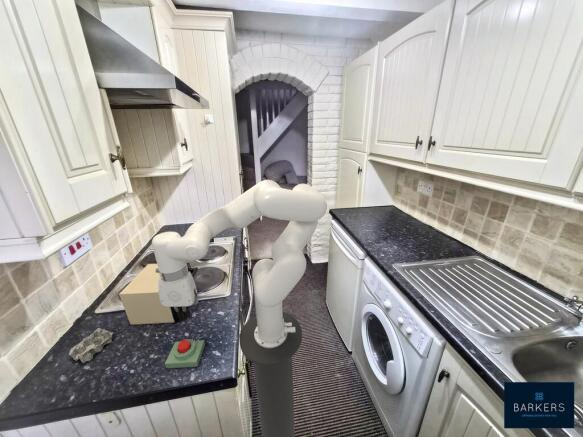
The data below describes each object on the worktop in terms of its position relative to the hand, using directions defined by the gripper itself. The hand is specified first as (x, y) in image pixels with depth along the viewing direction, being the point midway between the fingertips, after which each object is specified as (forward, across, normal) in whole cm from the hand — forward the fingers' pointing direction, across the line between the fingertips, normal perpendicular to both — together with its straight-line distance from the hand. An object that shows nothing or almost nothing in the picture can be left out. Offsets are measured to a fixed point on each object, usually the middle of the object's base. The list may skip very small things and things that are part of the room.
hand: (184, 317), depth 76 cm
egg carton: (+13, -34, 0) cm, 37 cm away
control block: (+13, 0, -4) cm, 13 cm away
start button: (+9, 0, -4) cm, 10 cm away
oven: (+13, -20, +20) cm, 31 cm away
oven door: (+13, -8, +21) cm, 25 cm away
